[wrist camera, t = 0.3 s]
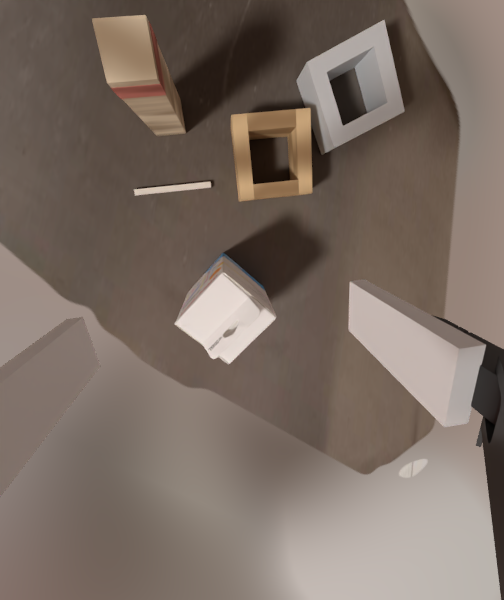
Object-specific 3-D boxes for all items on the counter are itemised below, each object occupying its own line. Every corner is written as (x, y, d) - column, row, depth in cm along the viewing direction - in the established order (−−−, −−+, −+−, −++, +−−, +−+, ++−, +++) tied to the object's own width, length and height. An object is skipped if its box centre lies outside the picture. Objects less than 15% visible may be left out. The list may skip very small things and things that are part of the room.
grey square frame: (296, 80, 33) (306, 62, 28) (363, 44, 32) (384, 19, 28) (321, 155, 36) (334, 147, 31) (383, 122, 35) (404, 111, 31)
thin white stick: (135, 189, 35) (133, 189, 34) (210, 181, 35) (210, 181, 35) (136, 195, 35) (135, 195, 35) (211, 187, 36) (211, 187, 35)
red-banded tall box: (150, 101, 32) (90, 17, 18) (180, 98, 32) (146, 13, 18) (157, 136, 33) (106, 84, 19) (186, 133, 33) (158, 79, 19)
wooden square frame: (230, 126, 34) (231, 114, 29) (299, 120, 34) (310, 107, 30) (239, 201, 37) (240, 200, 32) (302, 194, 37) (312, 193, 33)
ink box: (223, 250, 39) (223, 271, 26) (264, 287, 41) (282, 322, 29) (186, 293, 40) (169, 332, 28) (228, 325, 43) (229, 375, 30)
